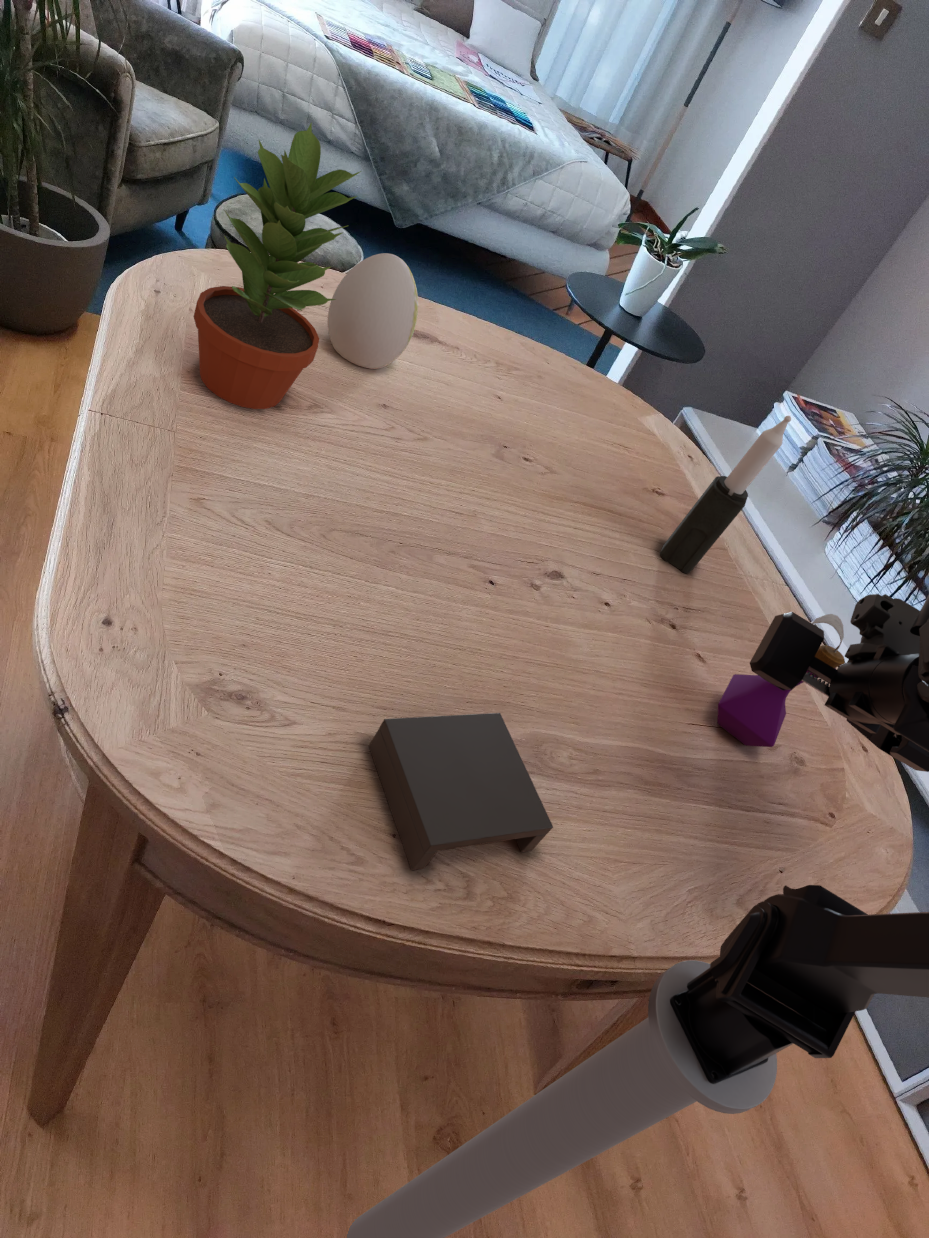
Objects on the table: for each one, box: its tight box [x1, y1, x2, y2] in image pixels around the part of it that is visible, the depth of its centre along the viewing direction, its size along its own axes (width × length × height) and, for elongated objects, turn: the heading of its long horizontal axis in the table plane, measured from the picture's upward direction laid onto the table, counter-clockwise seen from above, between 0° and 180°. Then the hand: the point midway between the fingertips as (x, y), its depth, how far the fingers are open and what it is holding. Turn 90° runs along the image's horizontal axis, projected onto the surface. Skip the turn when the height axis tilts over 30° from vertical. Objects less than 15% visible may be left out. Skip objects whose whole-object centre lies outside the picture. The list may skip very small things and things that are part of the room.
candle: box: [659, 415, 792, 575], centre depth 113 cm, size 5×5×25 cm
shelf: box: [368, 712, 554, 871], centre depth 72 cm, size 12×12×4 cm
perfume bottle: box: [716, 613, 846, 748], centre depth 93 cm, size 8×8×18 cm
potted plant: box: [193, 122, 362, 410], centre depth 95 cm, size 15×15×30 cm
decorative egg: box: [327, 252, 419, 370], centre depth 118 cm, size 12×12×15 cm
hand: (810, 692), depth 84 cm, fingers open, 9 cm apart
